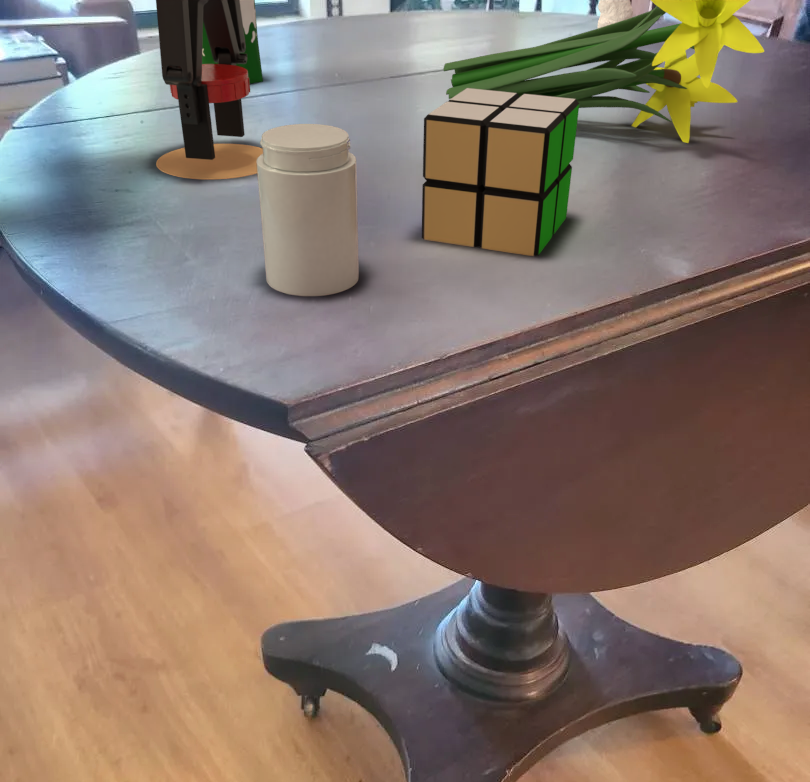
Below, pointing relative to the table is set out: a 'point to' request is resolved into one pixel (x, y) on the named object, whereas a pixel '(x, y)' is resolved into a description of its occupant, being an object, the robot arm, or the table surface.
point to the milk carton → (250, 40)
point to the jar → (308, 209)
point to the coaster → (212, 163)
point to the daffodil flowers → (675, 83)
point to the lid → (222, 82)
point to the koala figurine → (614, 11)
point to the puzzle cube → (498, 170)
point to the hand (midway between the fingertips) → (216, 145)
